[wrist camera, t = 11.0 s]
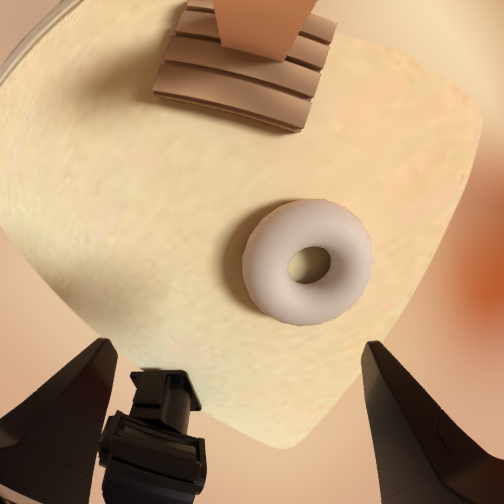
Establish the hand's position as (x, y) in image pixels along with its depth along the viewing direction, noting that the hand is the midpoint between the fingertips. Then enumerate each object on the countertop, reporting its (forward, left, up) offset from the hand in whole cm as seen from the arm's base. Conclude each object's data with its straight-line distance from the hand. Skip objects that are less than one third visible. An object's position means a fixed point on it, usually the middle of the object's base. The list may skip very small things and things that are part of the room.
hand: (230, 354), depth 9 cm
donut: (-3, -5, -13) cm, 14 cm away
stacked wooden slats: (+13, -3, -13) cm, 18 cm away
